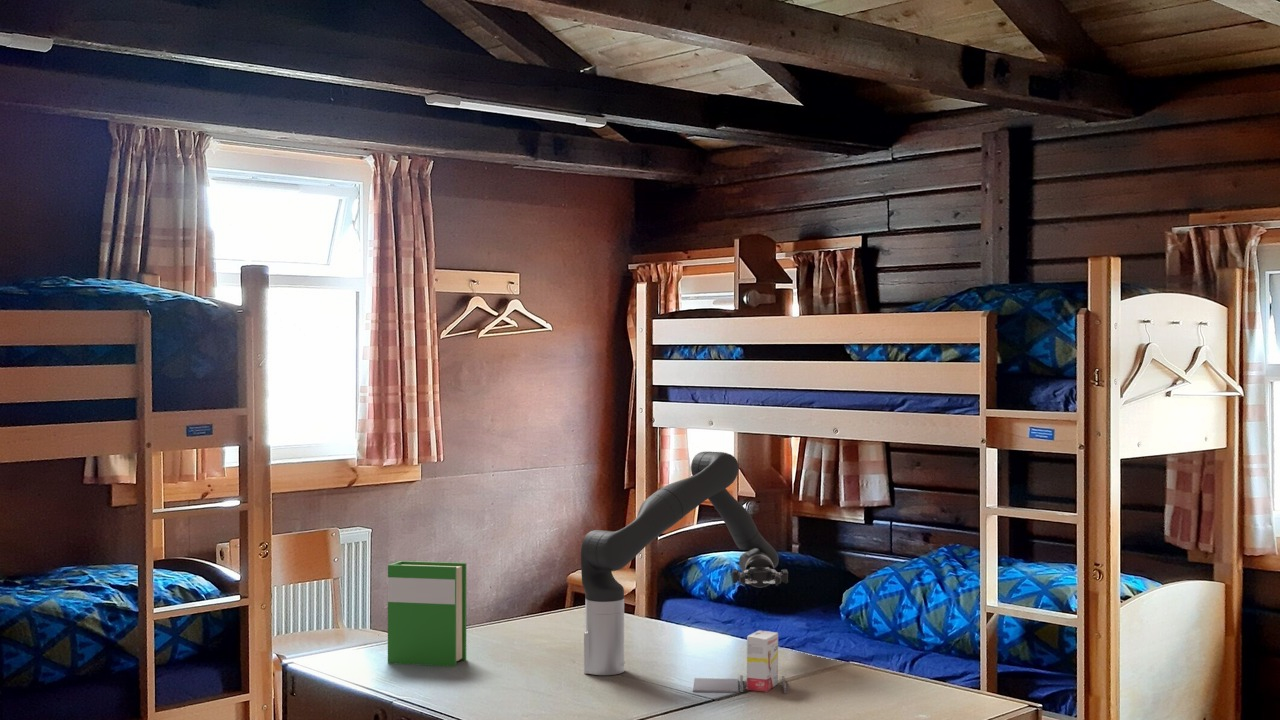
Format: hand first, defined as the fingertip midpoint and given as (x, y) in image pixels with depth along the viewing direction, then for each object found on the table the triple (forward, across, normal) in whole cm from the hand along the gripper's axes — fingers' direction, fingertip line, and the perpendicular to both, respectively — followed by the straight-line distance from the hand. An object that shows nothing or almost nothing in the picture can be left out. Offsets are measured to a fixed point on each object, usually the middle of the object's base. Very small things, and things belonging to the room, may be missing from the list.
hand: (760, 580), depth 290 cm
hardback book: (+3, -82, +20) cm, 85 cm away
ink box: (+22, 0, +20) cm, 30 cm away
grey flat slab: (+22, -5, +20) cm, 30 cm away
